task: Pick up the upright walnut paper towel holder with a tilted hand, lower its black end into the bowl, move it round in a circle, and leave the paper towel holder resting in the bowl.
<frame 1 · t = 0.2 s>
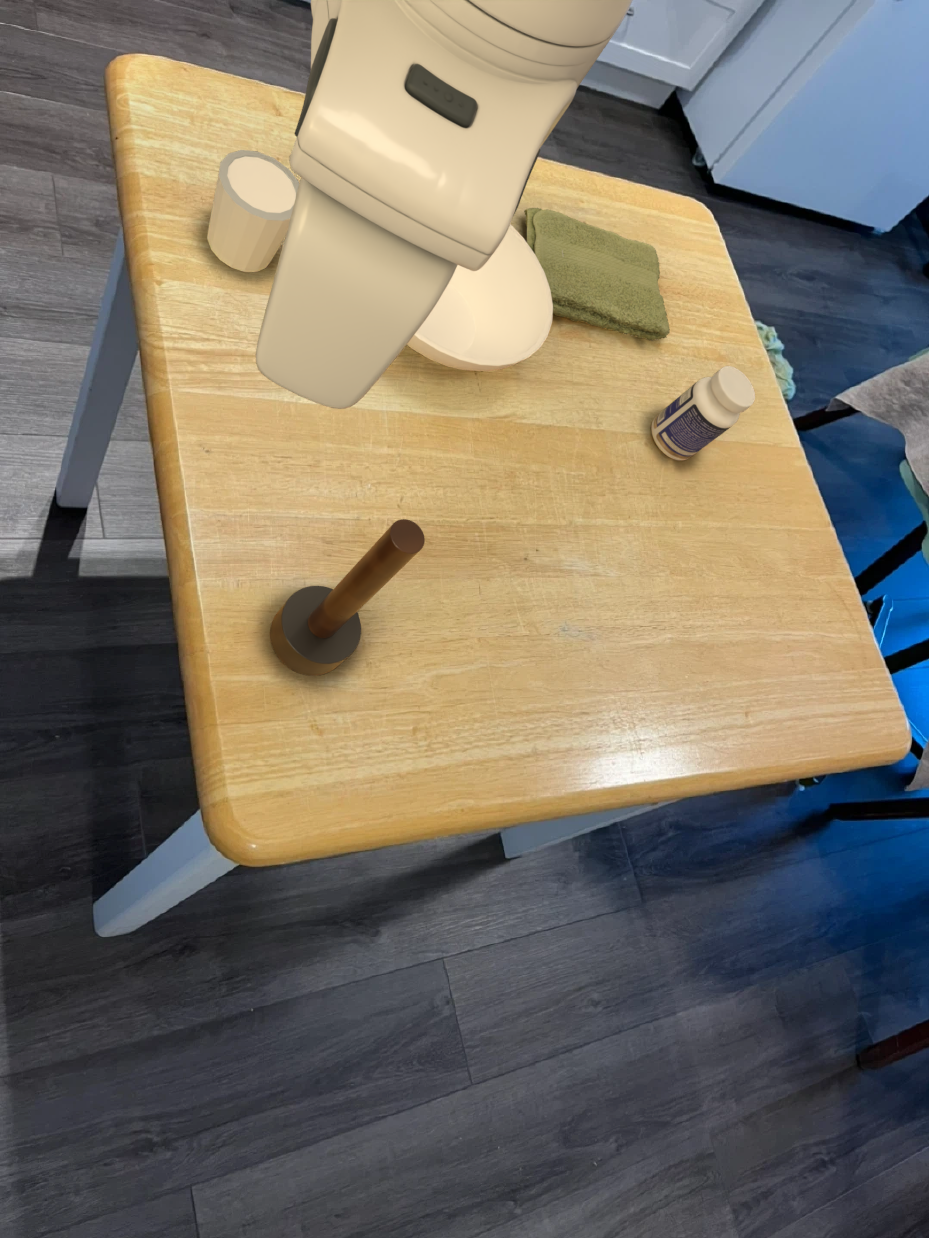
hand: (317, 291, 40), 29 cm above the table, tool pointing down, fingers open, 8 cm apart
paper towel holder: (309, 637, 66), on the table
bowl: (425, 319, 83), on the table
pill bottle: (669, 439, 93), on the table
beverage bottle: (351, 177, 85), on the table
shot glass: (239, 246, 76), on the table
washcloth: (588, 285, 96), on the table
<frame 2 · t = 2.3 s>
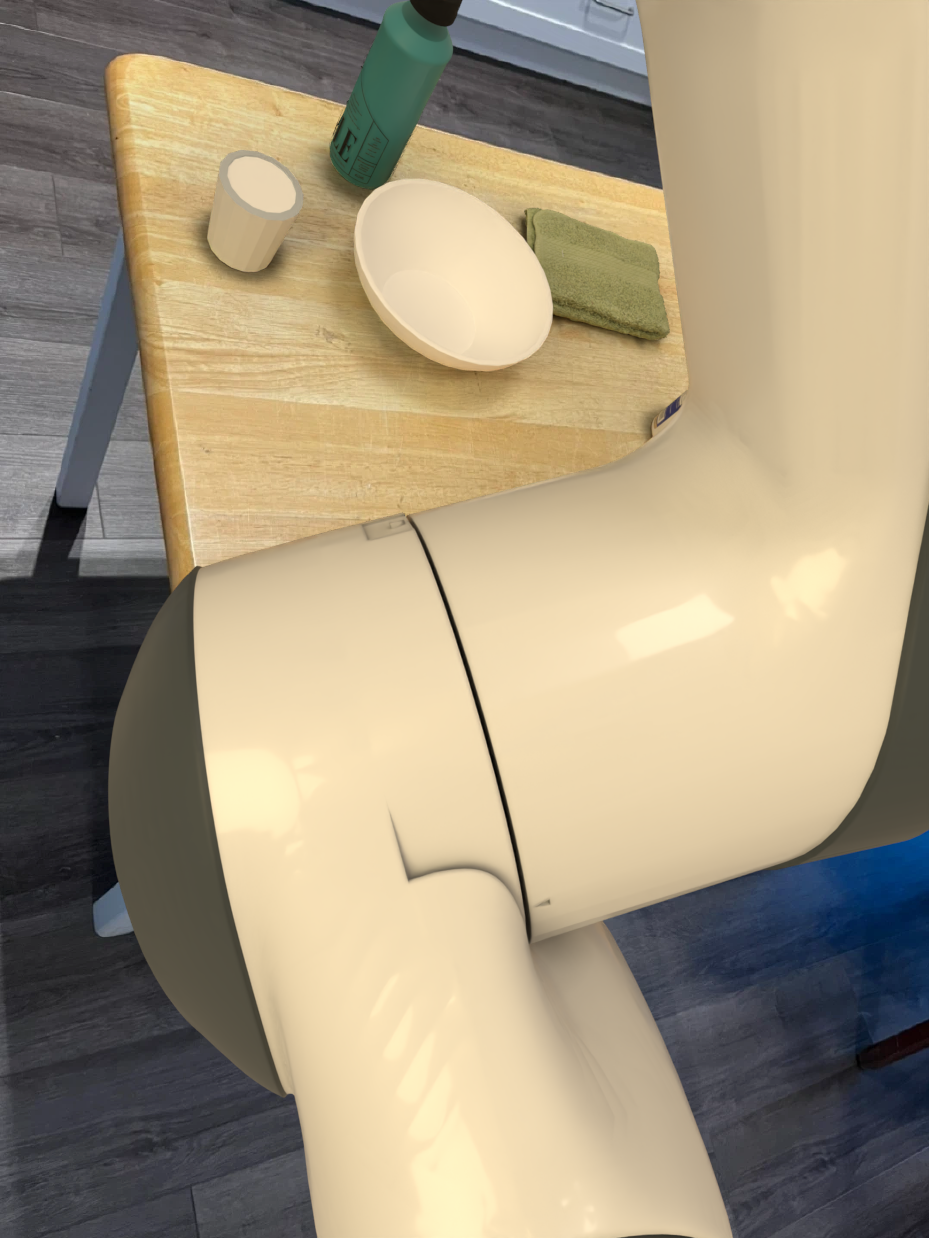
hand: (374, 687, 43), 21 cm above the table, tool tilted 45°, fingers open, 8 cm apart
nothing on the table moved.
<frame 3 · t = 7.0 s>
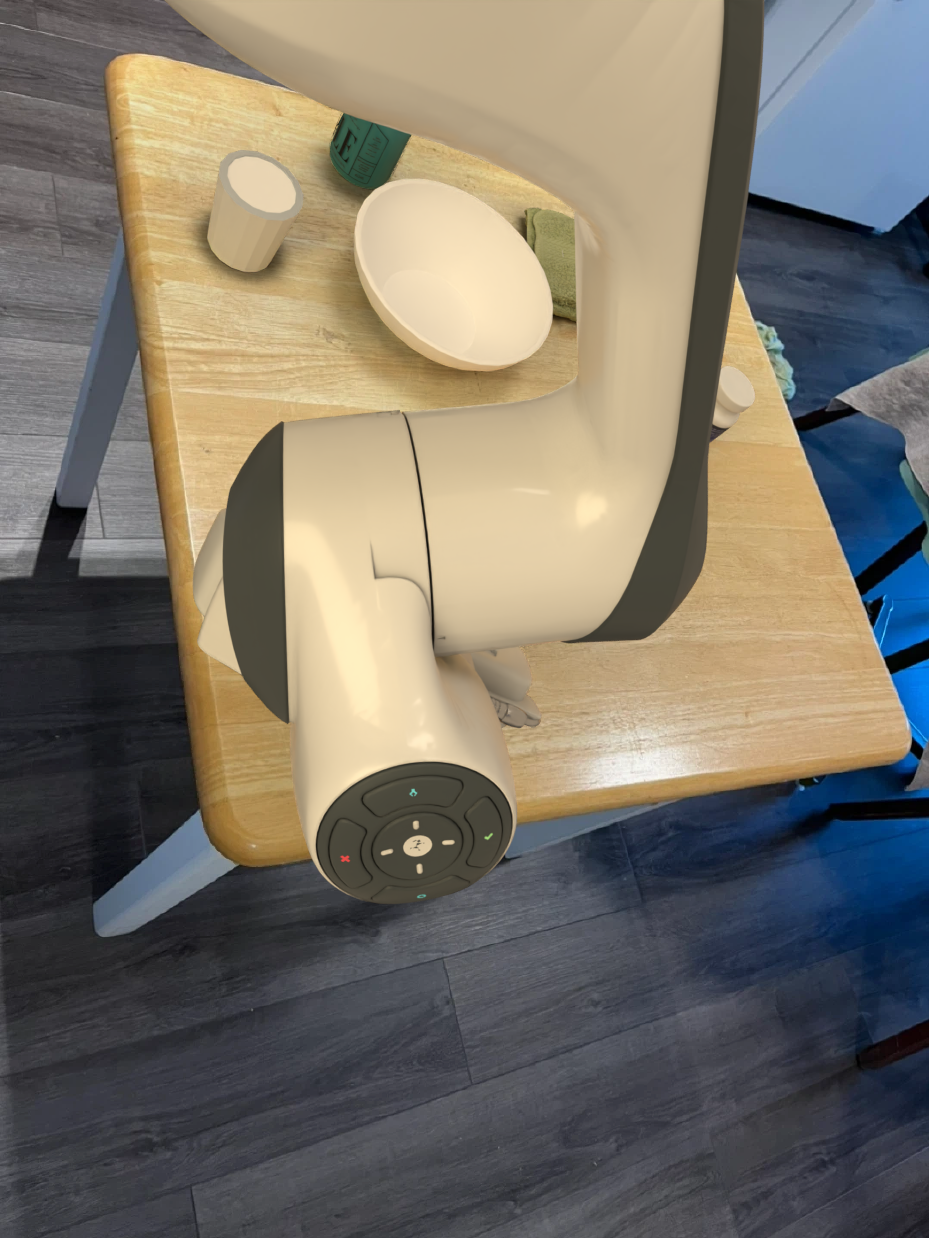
hand: (362, 577, 58), 10 cm above the table, tool tilted 45°, fingers closed on paper towel holder, 2 cm apart
paper towel holder: (309, 637, 66), on the table, touching gripper
everything else where it was.
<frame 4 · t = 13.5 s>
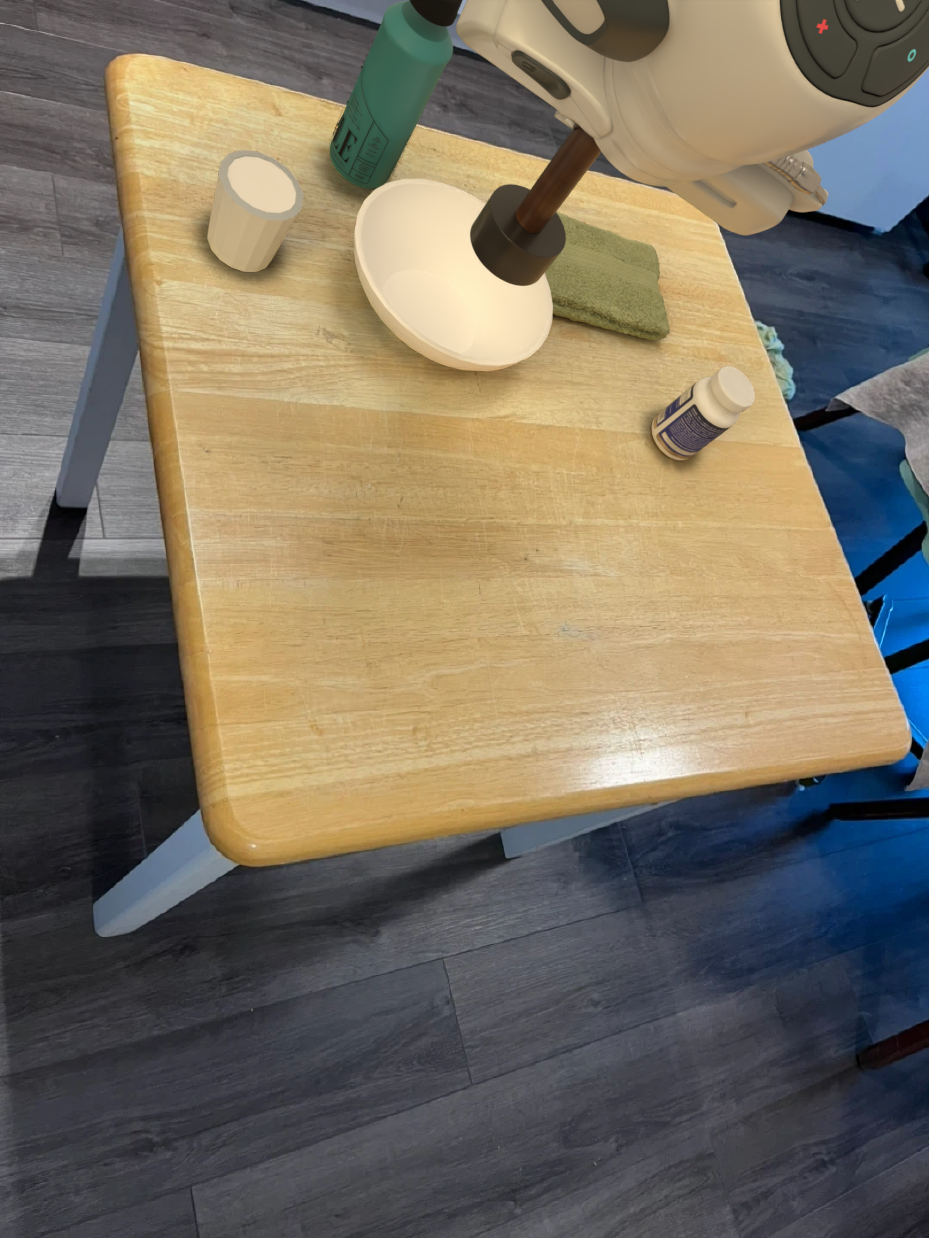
hand: (593, 127, 54), 29 cm above the table, tool tilted 45°, fingers closed on paper towel holder, 2 cm apart
paper towel holder: (507, 250, 62), point 19 cm above the table, touching gripper
everything else where it was.
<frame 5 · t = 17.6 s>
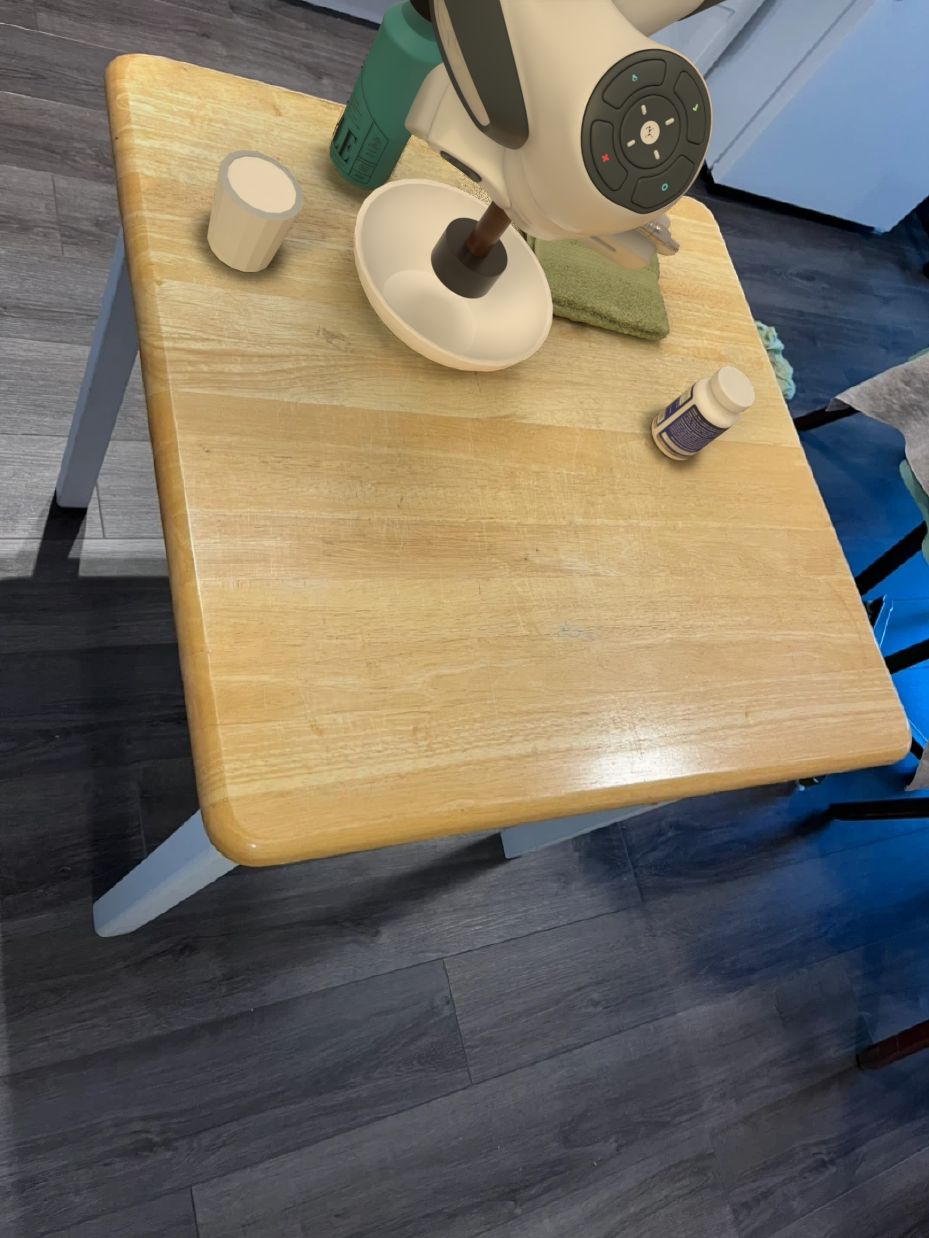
hand: (516, 186, 70), 16 cm above the table, tool tilted 45°, fingers closed on paper towel holder, 2 cm apart
paper towel holder: (461, 270, 77), point 7 cm above the table, touching bowl, gripper
bowl: (425, 319, 83), on the table, touching paper towel holder
everything else where it was.
when the fingers open (15 cm above the table, at t = 20.4 s): paper towel holder stays where it is, resting on bowl.
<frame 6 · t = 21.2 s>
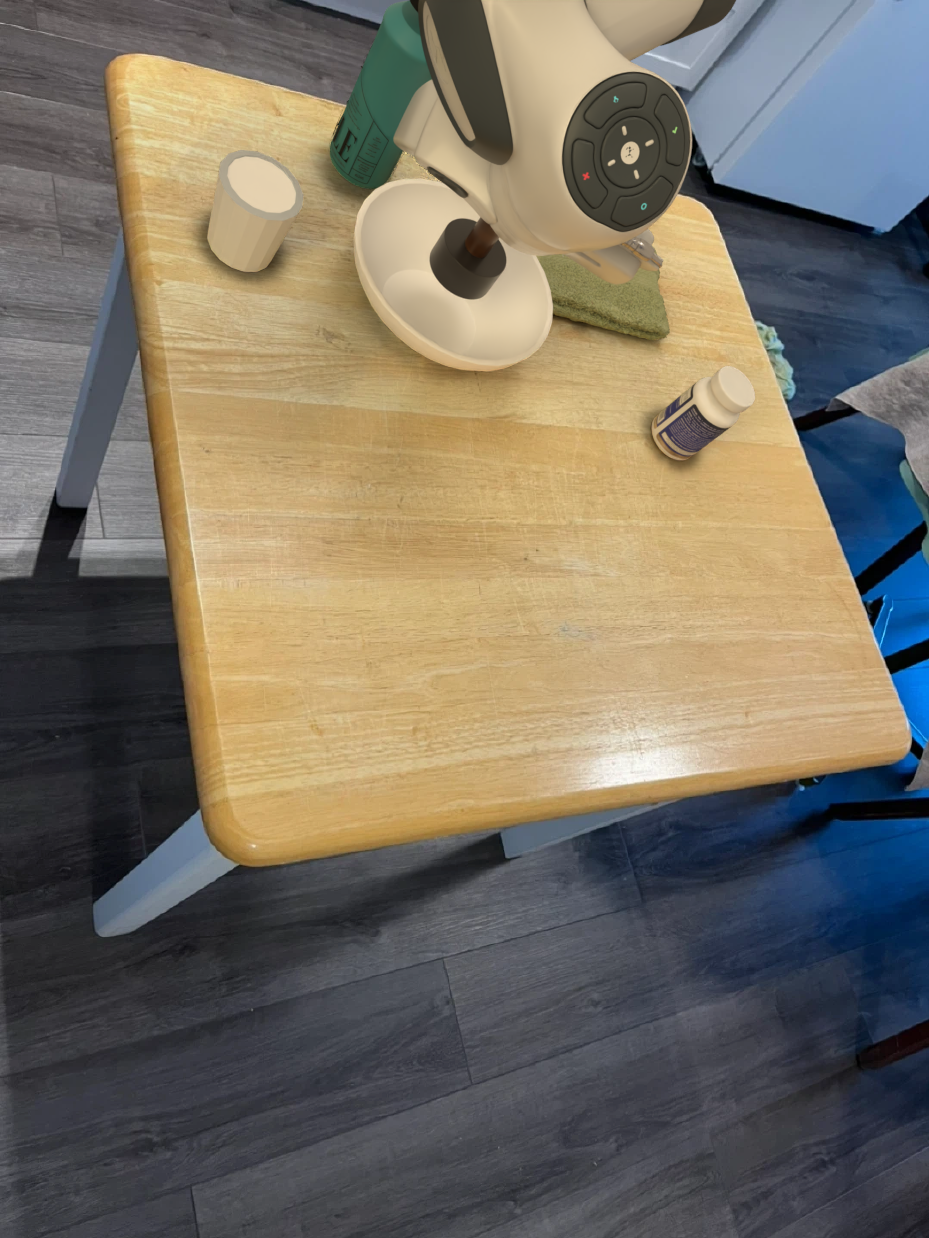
hand: (504, 201, 71), 14 cm above the table, tool tilted 45°, fingers open, 8 cm apart
paper towel holder: (460, 271, 77), point 7 cm above the table, touching bowl
everything else where it was.
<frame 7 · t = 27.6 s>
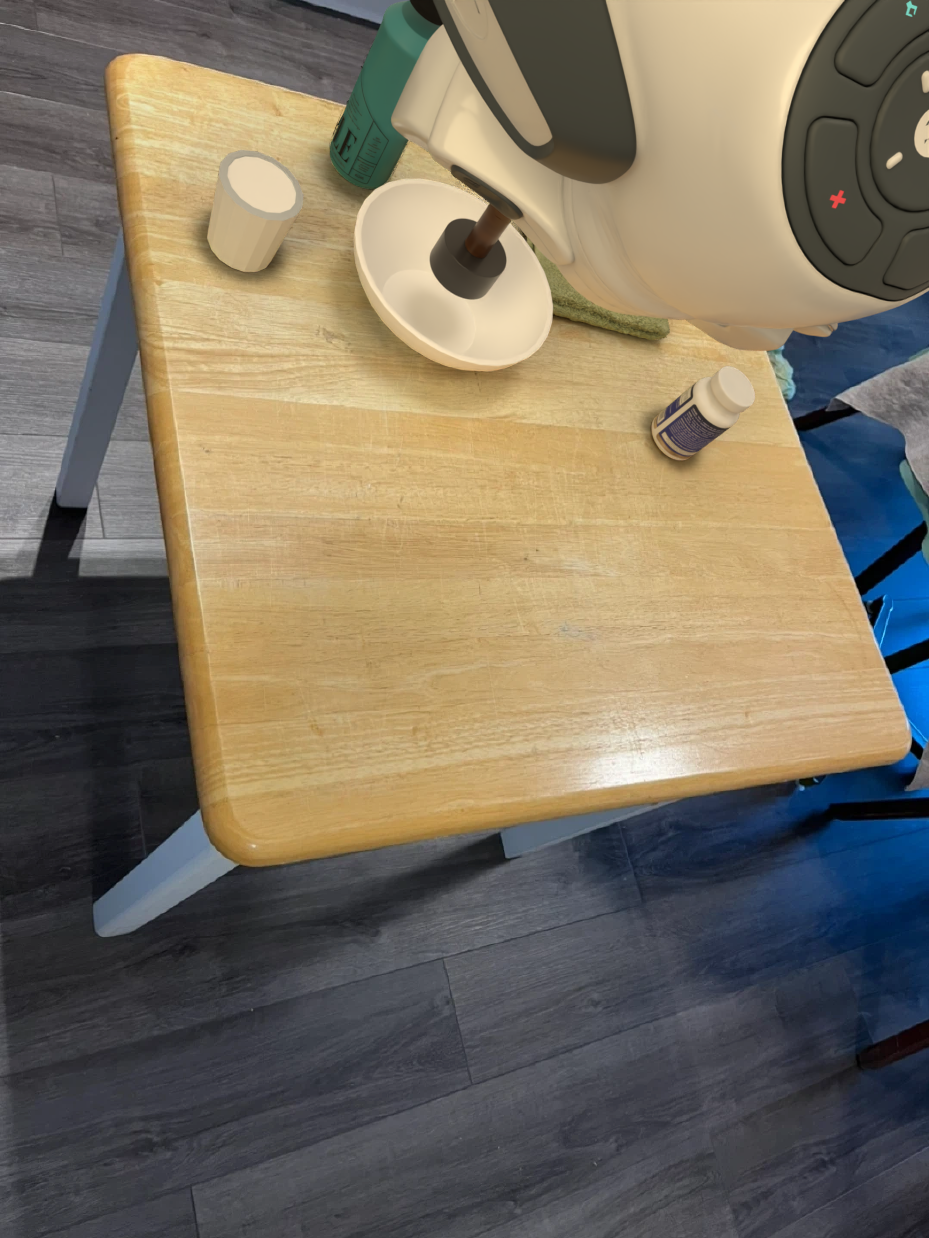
hand: (562, 218, 46), 31 cm above the table, tool tilted 45°, fingers open, 8 cm apart
nothing on the table moved.
at the end: paper towel holder inside the target area in the bowl (0.2 cm from its centre), point 7.1 cm above the bowl's base; bowl moved 0.2 cm from its start; the gripper is holding nothing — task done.
